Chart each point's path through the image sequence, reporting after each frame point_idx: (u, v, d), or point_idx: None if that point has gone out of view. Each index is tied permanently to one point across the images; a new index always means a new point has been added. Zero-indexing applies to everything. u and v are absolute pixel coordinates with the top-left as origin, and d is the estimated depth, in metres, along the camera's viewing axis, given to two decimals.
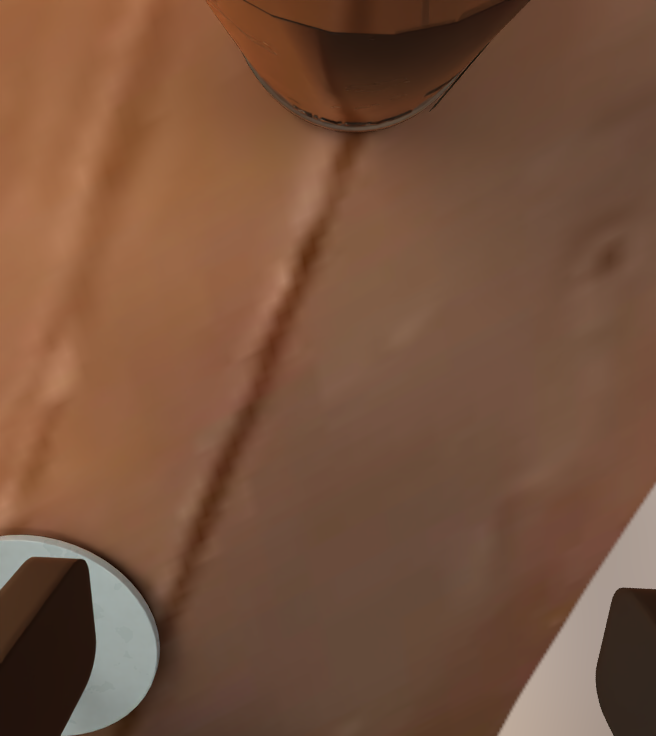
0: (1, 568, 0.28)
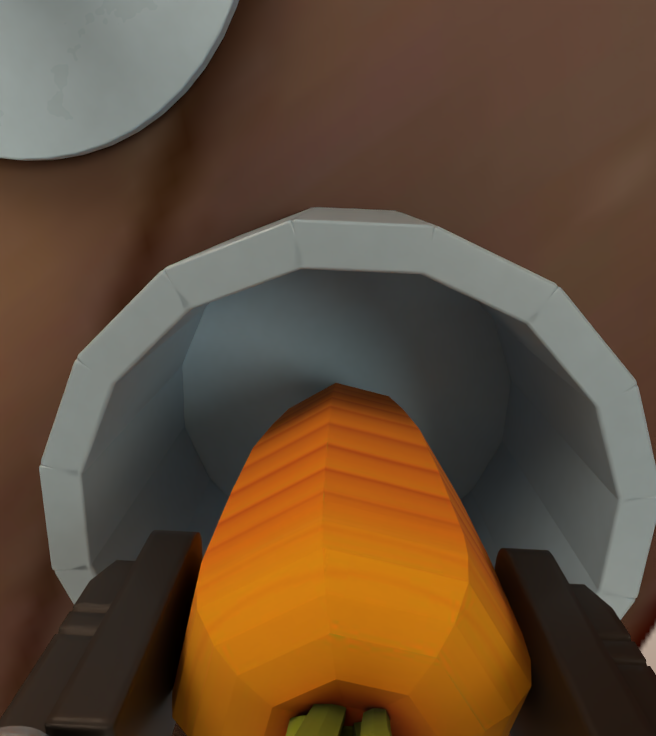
0: None
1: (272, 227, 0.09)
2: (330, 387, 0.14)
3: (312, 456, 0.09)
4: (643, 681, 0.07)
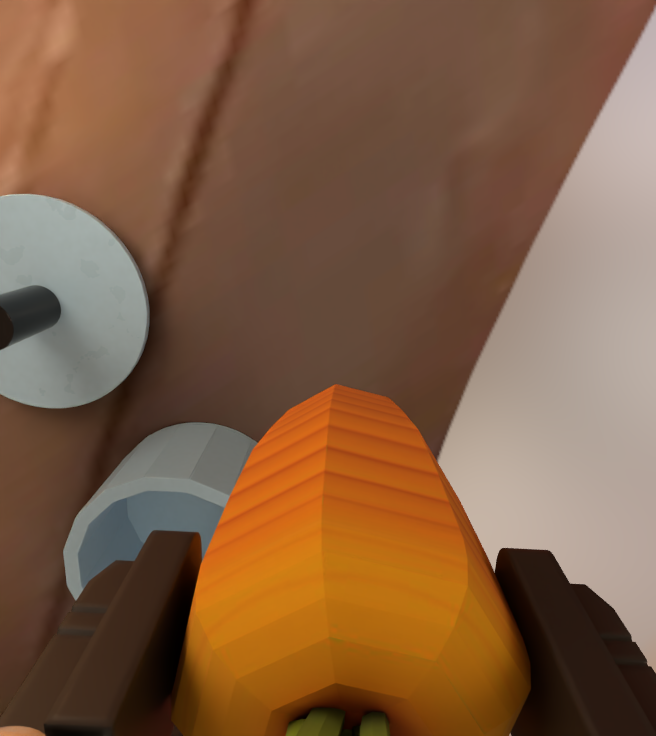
0: (8, 224, 0.31)
1: (138, 478, 0.29)
2: (330, 389, 0.13)
3: (312, 459, 0.09)
4: (644, 681, 0.07)
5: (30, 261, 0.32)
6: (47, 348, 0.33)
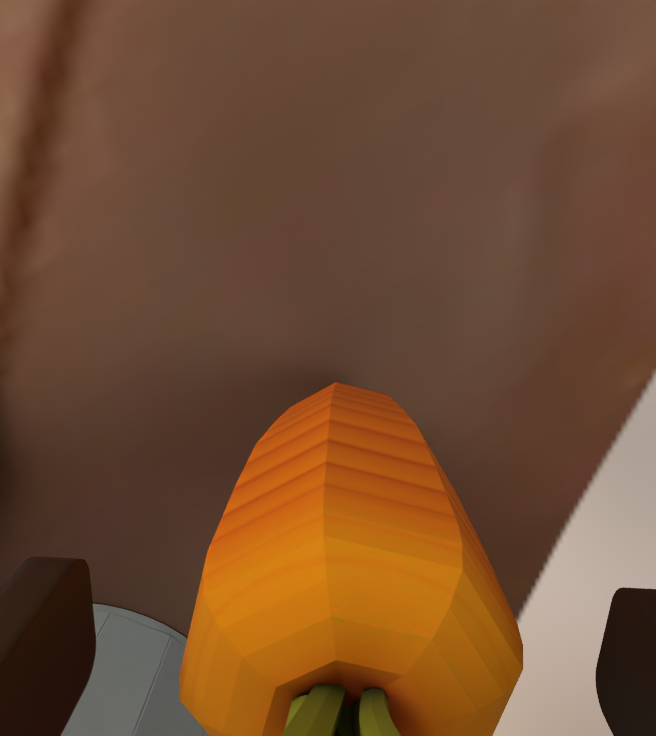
0: None
1: None
2: (330, 386, 0.14)
3: (314, 451, 0.09)
4: None
5: None
6: None
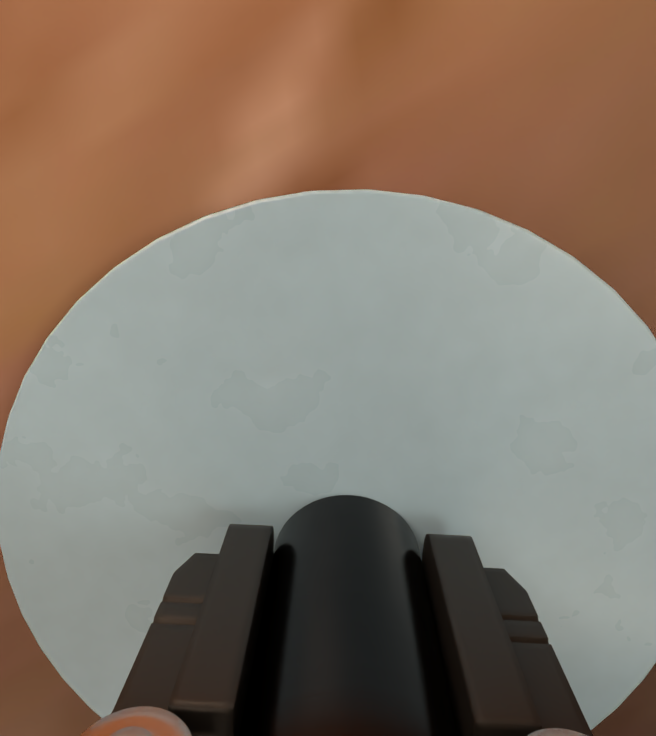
0: (284, 299, 0.09)
1: None
2: None
3: None
4: (541, 657, 0.07)
5: (342, 421, 0.09)
6: None
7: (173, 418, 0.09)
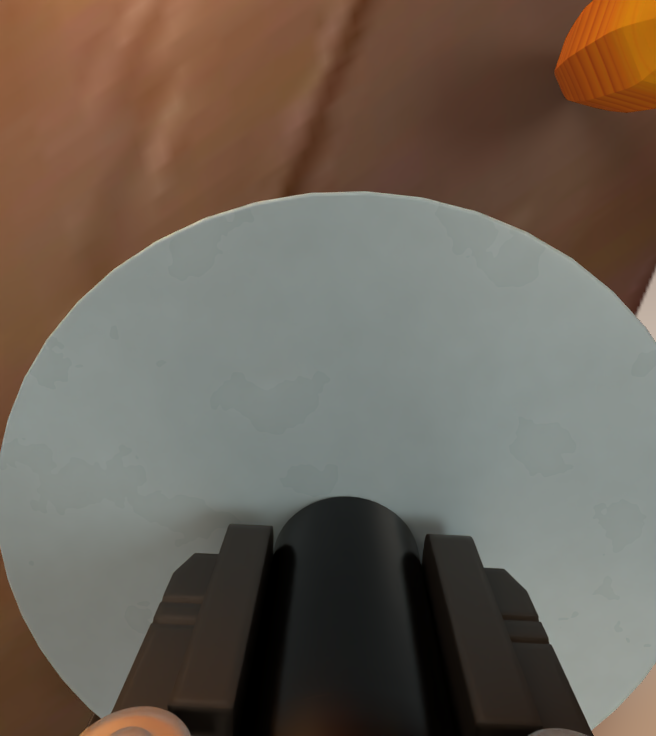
0: (283, 301, 0.09)
1: None
2: None
3: None
4: (542, 658, 0.07)
5: (341, 423, 0.09)
6: None
7: (172, 420, 0.09)
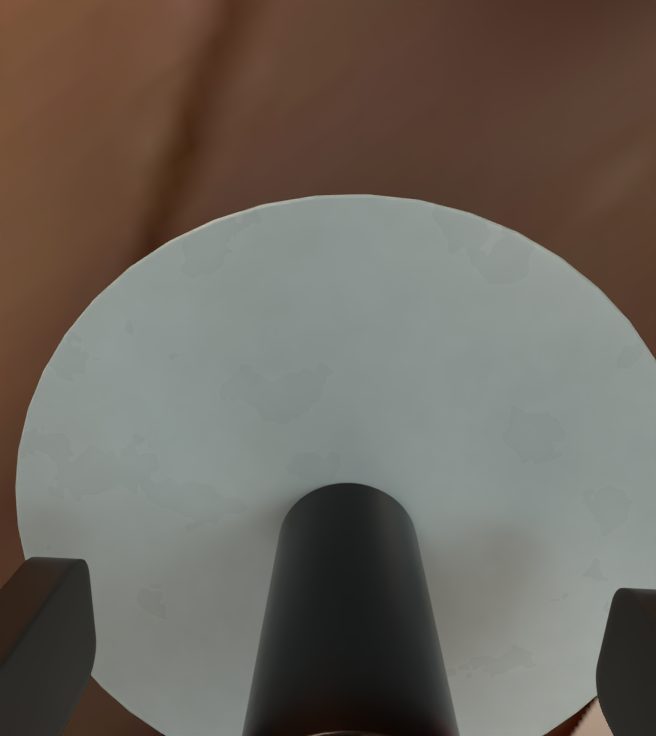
0: (289, 298, 0.09)
1: None
2: None
3: None
4: None
5: (343, 413, 0.10)
6: None
7: (184, 410, 0.10)
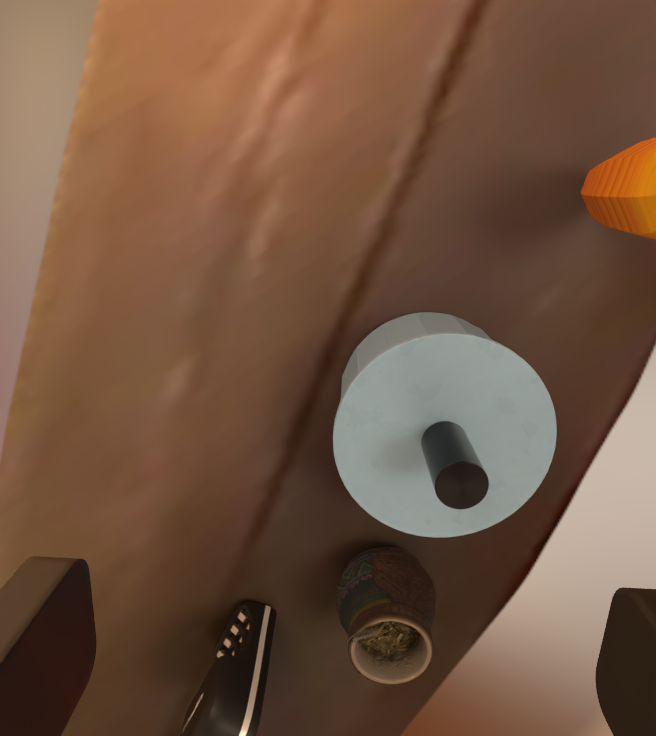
0: (430, 363, 0.30)
1: None
2: None
3: None
4: None
5: (445, 398, 0.31)
6: None
7: (394, 397, 0.31)
